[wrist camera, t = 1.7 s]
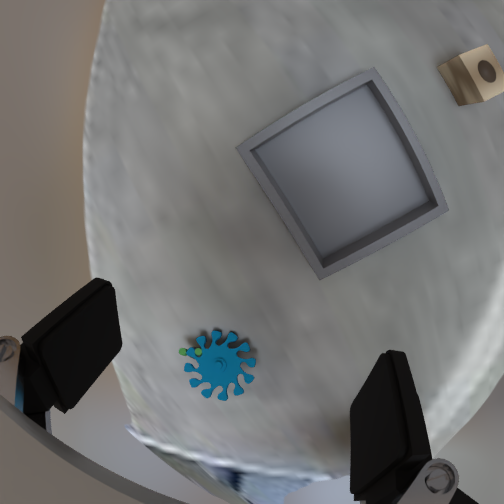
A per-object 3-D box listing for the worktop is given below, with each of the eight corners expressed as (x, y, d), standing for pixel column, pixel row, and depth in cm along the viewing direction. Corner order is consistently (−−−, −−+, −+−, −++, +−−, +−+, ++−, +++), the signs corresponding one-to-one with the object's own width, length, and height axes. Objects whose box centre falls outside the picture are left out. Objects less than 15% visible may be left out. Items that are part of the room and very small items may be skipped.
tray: (436, 203, 27) (449, 210, 24) (319, 266, 33) (319, 280, 30) (367, 74, 24) (374, 66, 21) (243, 147, 30) (235, 147, 27)
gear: (267, 347, 37) (236, 413, 34) (268, 350, 42) (241, 407, 39) (194, 314, 39) (164, 377, 36) (204, 322, 45) (178, 376, 41)
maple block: (484, 93, 21) (511, 87, 15) (458, 106, 23) (485, 101, 17) (463, 55, 20) (488, 43, 14) (436, 67, 22) (459, 54, 16)
